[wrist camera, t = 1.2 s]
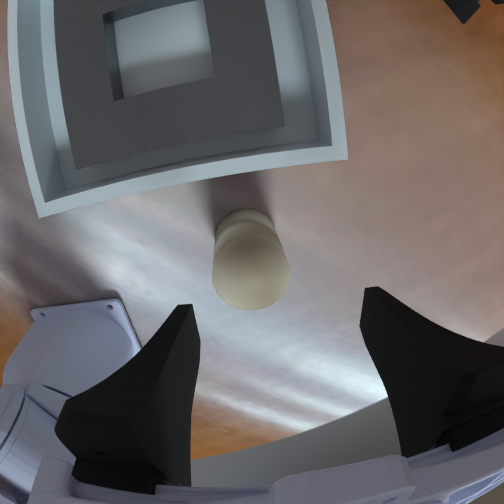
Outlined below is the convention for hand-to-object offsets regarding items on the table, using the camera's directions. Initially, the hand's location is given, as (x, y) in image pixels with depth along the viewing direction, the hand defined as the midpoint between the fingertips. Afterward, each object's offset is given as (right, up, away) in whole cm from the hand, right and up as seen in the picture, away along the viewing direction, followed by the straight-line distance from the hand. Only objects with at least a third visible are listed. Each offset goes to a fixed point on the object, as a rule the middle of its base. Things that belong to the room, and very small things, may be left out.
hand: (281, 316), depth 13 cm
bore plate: (-6, +15, +3) cm, 16 cm away
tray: (-6, +15, +3) cm, 16 cm away
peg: (-2, +4, +8) cm, 9 cm away
